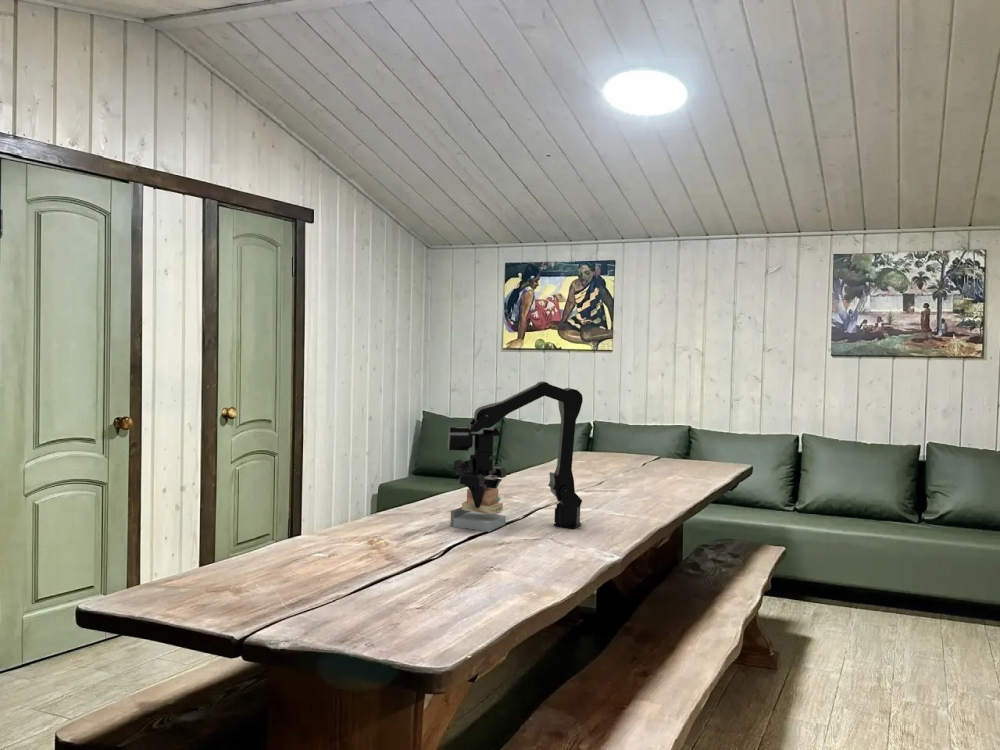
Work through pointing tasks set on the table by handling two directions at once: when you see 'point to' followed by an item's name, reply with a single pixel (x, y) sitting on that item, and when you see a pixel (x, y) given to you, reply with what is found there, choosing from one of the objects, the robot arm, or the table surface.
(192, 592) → the table surface
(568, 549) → the table surface
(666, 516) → the table surface
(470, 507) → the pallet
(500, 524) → the dock
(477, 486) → the robot arm
